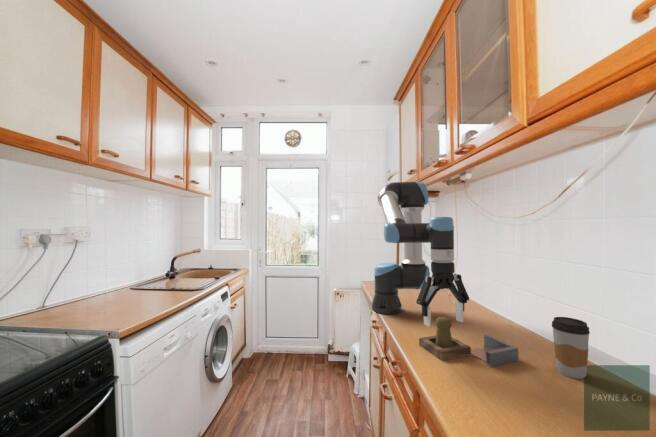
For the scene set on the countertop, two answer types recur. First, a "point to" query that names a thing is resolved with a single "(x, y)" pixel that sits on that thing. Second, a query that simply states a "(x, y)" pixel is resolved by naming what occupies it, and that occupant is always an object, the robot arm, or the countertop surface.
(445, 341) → the olive stamp handle
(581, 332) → the coffee cup
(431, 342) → the socket block
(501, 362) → the corner cradle
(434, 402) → the countertop surface
